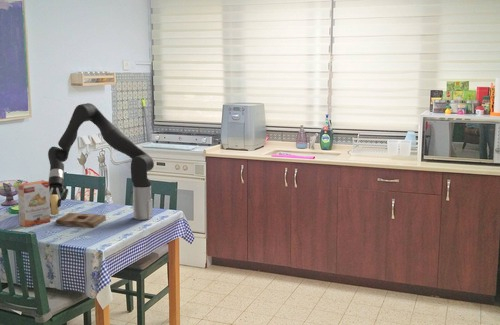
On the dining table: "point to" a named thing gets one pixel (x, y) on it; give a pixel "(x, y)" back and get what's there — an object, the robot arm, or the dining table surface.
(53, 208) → the ochre peg
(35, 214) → the cracker box
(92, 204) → the dining table surface
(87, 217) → the walnut pocket board
